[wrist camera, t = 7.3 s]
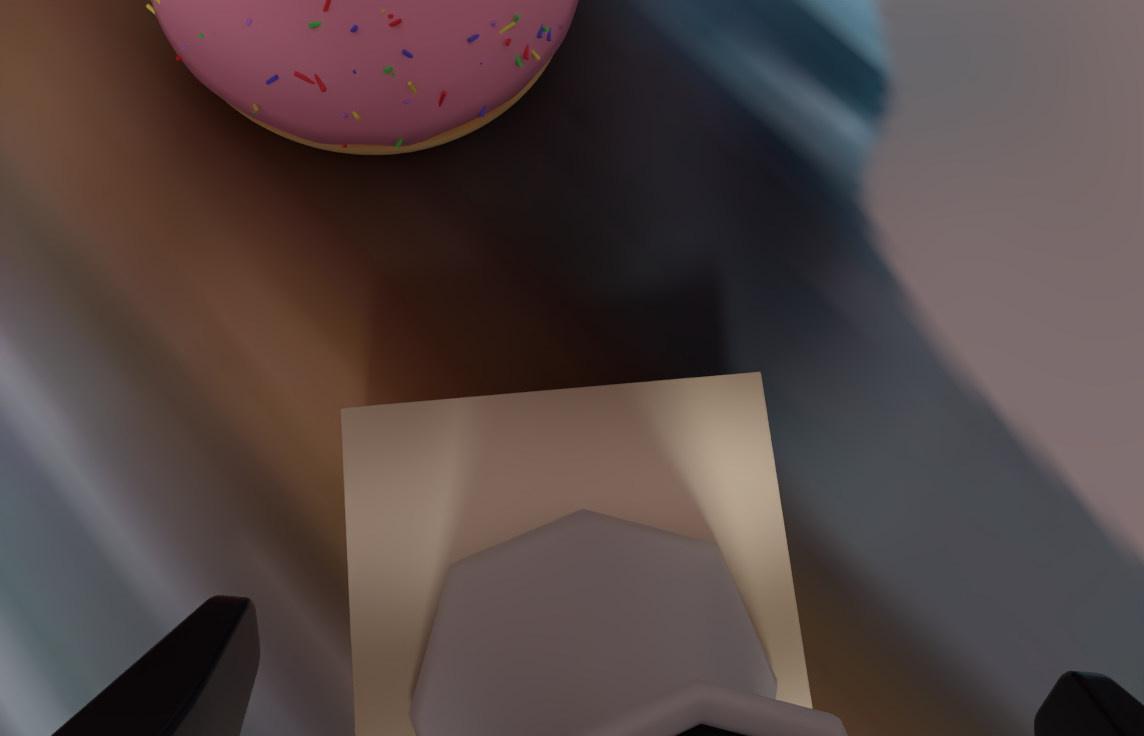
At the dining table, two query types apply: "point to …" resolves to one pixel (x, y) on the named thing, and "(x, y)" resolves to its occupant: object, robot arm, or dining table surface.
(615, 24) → the dining table surface
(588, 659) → the flask
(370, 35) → the doughnut
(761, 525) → the foundation block
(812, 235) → the dining table surface
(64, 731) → the robot arm
